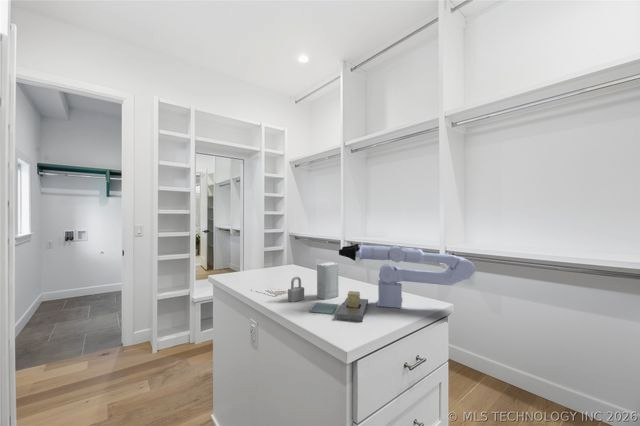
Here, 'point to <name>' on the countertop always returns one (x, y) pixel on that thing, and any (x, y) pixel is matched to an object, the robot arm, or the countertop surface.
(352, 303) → the tan rectangular block
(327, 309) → the rubber mat
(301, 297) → the padlock
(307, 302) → the countertop surface
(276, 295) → the grooming comb
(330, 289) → the skincare box
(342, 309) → the grey slotted base plate
